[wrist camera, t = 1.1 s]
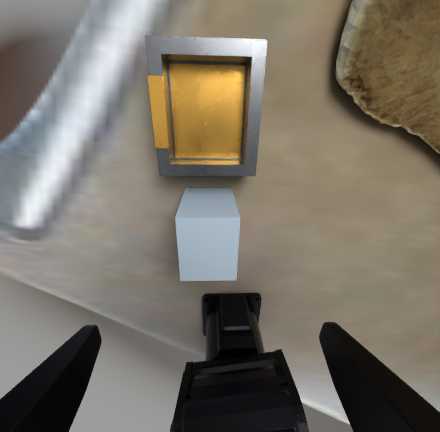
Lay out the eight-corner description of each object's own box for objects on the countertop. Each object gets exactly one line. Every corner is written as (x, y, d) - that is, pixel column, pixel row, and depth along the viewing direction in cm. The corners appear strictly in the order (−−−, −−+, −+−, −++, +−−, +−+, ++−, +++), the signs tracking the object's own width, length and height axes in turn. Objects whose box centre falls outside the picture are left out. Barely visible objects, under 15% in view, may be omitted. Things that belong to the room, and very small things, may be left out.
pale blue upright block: (229, 237, 21) (236, 280, 15) (188, 237, 20) (180, 281, 15) (231, 188, 19) (240, 217, 13) (185, 187, 18) (175, 217, 13)
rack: (248, 167, 18) (256, 177, 15) (166, 167, 17) (158, 176, 15) (257, 53, 14) (268, 37, 12) (156, 50, 14) (142, 33, 11)
